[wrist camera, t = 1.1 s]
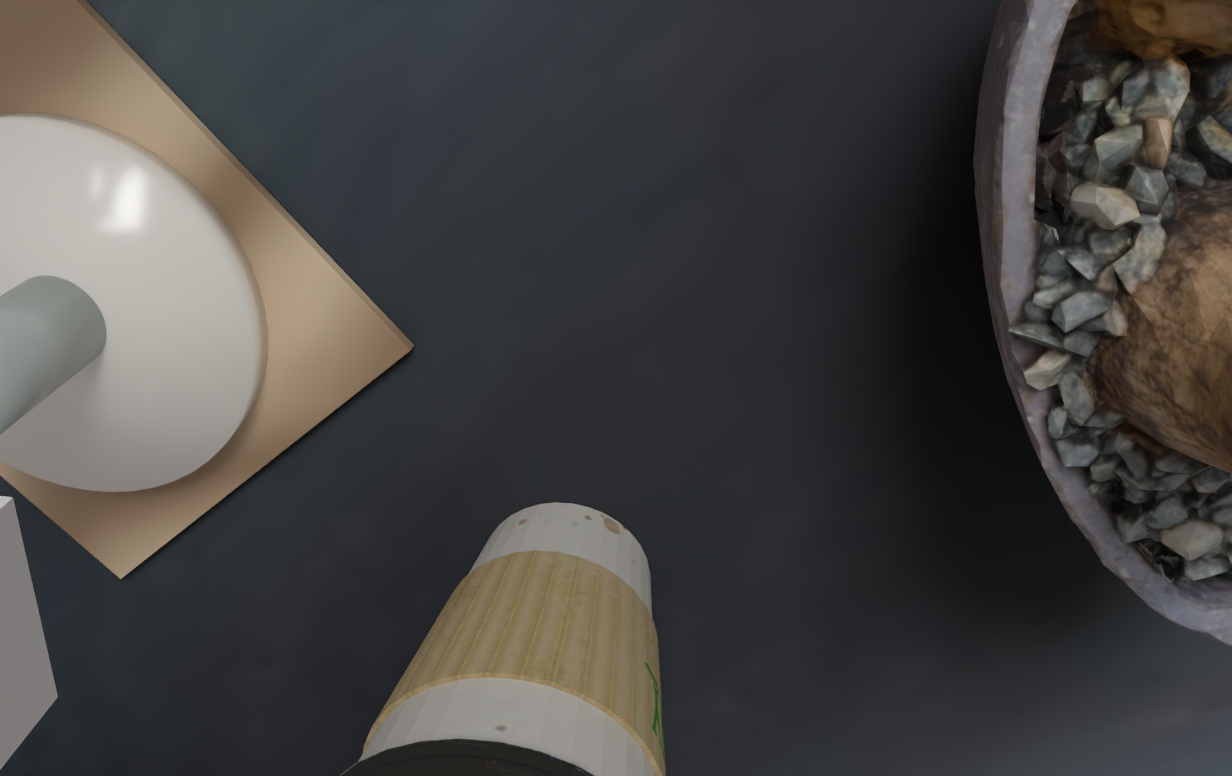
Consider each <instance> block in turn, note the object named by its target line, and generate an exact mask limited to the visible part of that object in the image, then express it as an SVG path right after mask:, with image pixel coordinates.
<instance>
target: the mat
mask: <svg viewBox="0 0 1232 776" xmlns="http://www.w3.org/2000/svg"><path fill="white" fill-rule="evenodd" d="M12 112H41V113H52V114H58V115H63V116H68V117H74V118H78V119H81V120H84V121H87V122H91V123H94V124H97V125H100V126H103V127H105V128H108V129H110V130H112V131H114V132H116V133H119V134H121V135H123V136H125V137H128V138H130V139H131V140H133V141H135V142H136V143H138V144H140V145H142V146H143V147H145V148H147V149H148V150H150V151H152V152H154V153H155V154H156V155H158V156H159V157H160V158H162V159H163V160H164V161H166V162H167V163H169V164H170V165H171V166H173V167H174V168H175V169H177V170H178V171H179V172H180V173H181V174H182V175H183V176H185V177H186V178H187V179H188V180H189V181H190V182H191V183H192V184H193V185H194V186H195V187H196V188H198V189H199V190H200V191H201V193H202V194H203V195H204V196H205V197H206V198H207V199H208V200H209V202H210V203H211V204H212V205H213V206H214V207H215V208H216V210H217V211H218V212H219V213H220V215H221V216H222V217H223V219H224V220H225V222H226V223H227V225H228V226H229V227H230V229H231V230H232V232H233V233H234V234H235V236H236V238H237V240H238V241H239V243H240V245H241V247H242V249H243V251H244V252H245V254H246V256H247V258H248V260H249V262H250V265H251V267H252V269H253V272H254V274H255V277H256V279H257V282H258V284H259V288H260V292H261V295H262V299H263V303H264V306H265V312H266V320H267V327H268V359H267V365H266V372H265V377H264V380H263V384H262V387H261V390H260V393H259V396H258V398H257V400H256V402H255V404H254V406H253V408H252V410H251V412H250V414H249V415H248V417H247V418H246V419H245V421H244V422H243V423H242V425H241V426H240V427H239V429H238V430H237V431H236V432H235V434H234V435H233V436H232V437H231V438H230V439H229V441H228V442H227V443H226V444H225V445H224V446H223V448H222V449H220V450H219V451H218V452H217V453H216V454H215V455H214V456H213V457H212V458H211V459H210V460H209V461H208V462H206V463H205V464H204V465H202V466H201V467H199V468H198V469H196V470H195V471H193V472H192V473H190V474H188V475H186V476H184V477H182V478H180V479H177V480H175V481H173V482H170V483H167V484H164V485H160V486H157V487H154V488H149V489H142V490H136V491H125V492H103V491H91V490H83V489H78V488H73V487H68V486H63V485H59V484H56V483H53V482H49V481H46V480H43V479H40V478H37V477H35V476H32V475H30V474H27V473H25V472H23V471H20V470H18V469H16V468H14V467H12V466H10V465H8V464H6V463H4V462H2V461H0V476H2V477H3V478H4V479H5V480H6V481H7V482H9V483H10V484H11V485H12V486H13V487H14V488H16V489H17V490H18V491H19V492H20V493H21V494H22V495H24V496H25V497H26V498H27V499H28V500H29V501H31V502H32V503H33V504H34V505H35V506H36V507H38V508H39V509H40V510H41V511H42V512H43V513H45V514H46V515H47V516H48V517H49V518H50V519H51V520H53V521H54V522H55V523H56V524H57V525H58V526H60V527H61V528H62V529H63V530H64V531H65V532H67V533H68V534H69V535H70V536H71V537H72V538H74V539H75V540H76V541H77V542H78V543H79V544H80V545H82V546H83V547H84V548H85V549H86V550H87V551H89V552H90V553H91V554H92V555H93V556H94V557H96V558H97V559H98V560H99V561H100V562H101V563H103V564H104V565H105V566H106V567H107V568H108V569H109V570H111V571H112V572H113V573H114V574H115V575H116V576H118V577H119V578H120V579H121V578H123V577H124V576H125V575H127V574H128V573H129V572H130V571H132V570H133V569H134V568H135V567H137V566H138V565H139V564H140V563H142V562H143V561H144V560H146V559H147V558H148V557H149V556H151V555H152V554H153V553H154V552H156V551H157V550H158V549H159V548H161V547H162V546H163V545H165V544H166V543H167V542H168V541H170V540H171V539H172V538H173V537H175V536H176V535H177V534H179V533H180V532H181V531H182V530H184V529H185V528H186V527H187V526H189V525H190V524H191V523H192V522H194V521H195V520H196V519H198V518H199V517H200V516H201V515H203V514H204V513H205V512H206V511H208V510H209V509H210V508H211V507H213V506H214V505H215V504H217V503H218V502H219V501H220V500H222V499H223V498H224V497H225V496H227V495H228V494H229V493H230V492H232V491H233V490H234V489H236V488H237V487H238V486H239V485H241V484H242V483H243V482H244V481H246V480H247V479H248V478H250V477H251V476H252V475H253V474H255V473H256V472H257V471H258V470H260V469H261V468H262V467H263V466H265V465H266V464H267V463H269V462H270V461H271V460H272V459H274V458H275V457H276V456H277V455H279V454H280V453H281V452H282V451H284V450H285V449H286V448H288V447H289V446H290V445H291V444H293V443H294V442H295V441H296V440H298V439H299V438H300V437H301V436H303V435H304V434H305V433H307V432H308V431H309V430H310V429H312V428H313V427H314V426H315V425H317V424H318V423H319V422H320V421H322V420H323V419H324V418H326V417H327V416H328V415H329V414H331V413H332V412H333V411H334V410H336V409H337V408H338V407H340V406H341V405H342V404H343V403H345V402H346V401H347V400H348V399H350V398H351V397H352V396H353V395H355V394H356V393H357V392H359V391H360V390H361V389H362V388H364V387H365V386H366V385H367V384H369V383H370V382H371V381H372V380H374V379H375V378H376V377H378V376H379V375H380V374H381V373H383V372H384V371H385V370H386V369H388V368H389V367H390V366H391V365H393V364H394V363H395V362H397V361H398V360H399V359H400V358H402V357H403V356H404V355H405V354H407V353H408V352H409V351H411V349H412V348H413V346H414V344H413V343H412V342H411V341H410V340H409V339H408V338H407V337H406V336H405V335H404V334H403V333H402V332H401V331H400V330H399V329H398V328H397V326H396V325H395V324H394V323H393V322H392V321H391V320H390V319H389V318H388V317H387V316H386V315H385V314H384V313H383V312H382V311H381V310H380V309H379V308H378V307H377V305H376V304H375V303H374V302H373V301H372V300H371V299H370V298H369V297H368V296H367V295H366V294H365V293H364V292H363V291H362V290H361V289H360V288H359V287H358V286H357V285H356V283H355V282H354V281H353V280H352V279H351V278H350V277H349V276H348V275H347V274H346V273H345V272H344V271H343V270H342V269H341V268H340V267H339V266H338V265H337V264H336V262H335V261H334V260H333V259H332V258H331V257H330V256H329V255H328V254H327V253H326V252H325V251H324V250H323V249H322V248H321V247H320V246H319V245H318V244H317V243H316V241H315V240H314V239H313V238H312V237H311V236H310V235H309V234H308V233H307V232H306V231H305V230H304V229H303V228H302V227H301V226H300V225H299V224H298V223H297V222H296V221H295V219H294V218H293V217H292V216H291V215H290V214H289V213H288V212H287V211H286V210H285V209H284V208H283V207H282V206H281V205H280V204H279V203H278V202H277V201H276V200H275V198H274V197H273V196H272V195H271V194H270V193H269V192H268V191H267V190H266V189H265V188H264V187H263V186H262V185H261V184H260V183H259V182H258V181H257V180H256V179H255V178H254V176H253V175H252V174H251V173H250V172H249V171H248V170H247V169H246V168H245V167H244V166H243V165H242V164H241V163H240V162H239V161H238V160H237V159H236V158H235V157H234V155H233V154H232V153H231V152H230V151H229V150H228V149H227V148H226V147H225V146H224V145H223V144H222V143H221V142H220V141H219V140H218V139H217V138H216V137H215V136H214V135H213V133H212V132H211V131H210V130H209V129H208V128H207V127H206V126H205V125H204V124H203V123H202V122H201V121H200V120H199V119H198V118H197V117H196V116H195V115H194V114H193V112H192V111H191V110H190V109H189V108H188V107H187V106H186V105H185V104H184V103H183V102H182V101H181V100H180V99H179V98H178V97H177V96H176V95H175V94H174V93H173V91H172V90H171V89H170V88H169V87H168V86H167V85H166V84H165V83H164V82H163V81H162V80H161V79H160V78H159V77H158V76H157V75H156V74H155V73H154V72H153V71H152V69H151V68H150V67H149V66H148V65H147V64H146V63H145V62H144V61H143V60H142V59H141V58H140V57H139V56H138V55H137V54H136V53H135V52H134V51H133V50H132V48H131V47H130V46H129V45H128V44H127V43H126V42H125V41H124V40H123V39H122V38H121V37H120V36H119V35H118V34H117V33H116V32H115V31H114V30H113V29H112V28H111V26H110V25H109V24H108V23H107V22H106V21H105V20H104V19H103V18H102V17H101V16H100V15H99V14H98V13H97V12H96V11H95V10H94V9H93V8H92V7H91V5H90V4H89V3H88V2H87V1H86V0H0V114H1V113H12Z"/></svg>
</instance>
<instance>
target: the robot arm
mask: <svg viewBox="0 0 1232 776" xmlns="http://www.w3.org/2000/svg"><path fill="white" fill-rule="evenodd" d="M57 697H58V696H57V691H56V687H55V682H54V678H53V673H52V669H51V665H50V660H49V656H48V651H47V647H46V642H45V638H44V633H43V629H42V625H41V620H40V616H39V611H38V607H37V602H36V598H35V593H34V589H33V585H32V580H31V576H30V571H29V567H28V562H27V558H26V553H25V549H24V545H23V540H22V536H21V531H20V527H19V522H18V518H17V513H16V509H15V505H14V500H13V497H5V496H0V769H1V768H2V767H3V766H4V764H5V763H6V762H7V761H8V759H9V758H10V757H11V755H12V754H13V753H14V752H15V750H16V749H17V748H18V747H19V745H20V744H21V743H22V742H23V740H24V739H25V738H26V736H27V735H28V734H29V733H30V731H31V730H32V729H33V728H34V726H35V725H36V724H37V723H38V721H39V720H40V719H41V717H42V716H43V715H44V714H45V712H46V711H47V710H48V709H49V707H50V706H51V705H52V704H53V702H54V701H55V700H56V699H57Z"/></svg>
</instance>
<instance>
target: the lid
mask: <svg viewBox="0 0 1232 776" xmlns="http://www.w3.org/2000/svg"><path fill="white" fill-rule="evenodd" d="M267 359H268V327H267V320H266V312H265V306H264V303H263V299H262V295H261V292H260V288H259V284H258V282H257V279H256V277H255V274H254V272H253V269H252V267H251V265H250V262H249V260H248V258H247V256H246V254H245V252H244V251H243V249H242V247H241V245H240V243H239V241H238V240H237V238H236V236H235V234H234V233H233V232H232V230H231V229H230V227H229V226H228V225H227V223H226V222H225V220H224V219H223V217H222V216H221V215H220V213H219V212H218V211H217V210H216V208H215V207H214V206H213V205H212V204H211V203H210V202H209V200H208V199H207V198H206V197H205V196H204V195H203V194H202V193H201V191H200V190H199V189H198V188H196V187H195V186H194V185H193V184H192V183H191V182H190V181H189V180H188V179H187V178H186V177H185V176H183V175H182V174H181V173H180V172H179V171H178V170H177V169H175V168H174V167H173V166H171V165H170V164H169V163H167V162H166V161H164V160H163V159H162V158H160V157H159V156H158V155H156V154H155V153H154V152H152V151H150V150H148V149H147V148H145V147H143V146H142V145H140V144H138V143H136V142H135V141H133V140H131V139H130V138H128V137H125V136H123V135H121V134H119V133H116V132H114V131H112V130H110V129H108V128H105V127H103V126H100V125H97V124H94V123H91V122H87V121H84V120H81V119H78V118H74V117H68V116H63V115H58V114H52V113H41V112H12V113H1V114H0V461H2V462H4V463H6V464H8V465H10V466H12V467H14V468H16V469H18V470H20V471H23V472H25V473H27V474H30V475H32V476H35V477H37V478H40V479H43V480H46V481H49V482H53V483H56V484H59V485H63V486H68V487H73V488H78V489H83V490H91V491H103V492H125V491H136V490H142V489H149V488H154V487H157V486H160V485H164V484H167V483H170V482H173V481H175V480H177V479H180V478H182V477H184V476H186V475H188V474H190V473H192V472H193V471H195V470H196V469H198V468H199V467H201V466H202V465H204V464H205V463H206V462H208V461H209V460H210V459H211V458H212V457H213V456H214V455H215V454H216V453H217V452H218V451H219V450H220V449H222V448H223V446H224V445H225V444H226V443H227V442H228V441H229V439H230V438H231V437H232V436H233V435H234V434H235V432H236V431H237V430H238V429H239V427H240V426H241V425H242V423H243V422H244V421H245V419H246V418H247V417H248V415H249V414H250V412H251V410H252V408H253V406H254V404H255V402H256V400H257V398H258V396H259V393H260V390H261V387H262V384H263V380H264V377H265V372H266V365H267Z"/></svg>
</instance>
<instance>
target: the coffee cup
mask: <svg viewBox="0 0 1232 776" xmlns="http://www.w3.org/2000/svg"><path fill="white" fill-rule="evenodd" d="M340 776H666V772H665V755H664V738H663V721H662V703H661V686H660V669H659V652H658V638H657V634H656V629H655V625H654V621H653V619H652V604H651V582H650V570H649V566H648V561H647V558H646V556H645V554H644V552H643V550H642V547H641V546H640V544H639V543H638V542H637V540H636V539H635V538H634V536H633V535H632V534H631V533H630V532H629V531H628V530H627V529H626V528H625V527H624V526H623V525H621V524H620V523H619V522H618V521H616V520H614V519H613V518H611V517H610V516H608V515H606V514H604V513H602V512H599V511H597V510H595V509H592V508H590V507H586V506H581V505H577V504H572V503H546V504H538V505H535V506H532V507H528V508H525V509H523V510H521V511H519V512H517V513H515V514H513V515H511V516H509V517H508V518H507V519H506V520H505V521H503V522H502V523H501V524H500V525H499V526H498V527H497V528H496V530H495V531H494V532H493V534H492V535H491V536H490V538H489V540H488V541H487V543H486V545H485V546H484V548H483V550H482V552H481V553H480V555H479V557H478V558H477V560H476V562H475V563H474V565H473V567H472V569H471V570H470V572H469V574H468V575H467V576H466V577H465V578H464V579H463V580H462V581H461V582H460V584H459V585H458V586H457V588H456V589H455V590H454V591H453V593H452V595H451V596H450V598H449V600H448V601H447V603H446V605H445V606H444V608H443V610H442V611H441V613H440V615H439V616H438V618H437V620H436V621H435V623H434V625H433V626H432V628H431V630H430V631H429V633H428V635H427V636H426V638H425V640H424V641H423V643H422V645H421V646H420V648H419V650H418V651H417V653H416V655H415V656H414V658H413V660H412V661H411V663H410V664H409V666H408V668H407V669H406V671H405V673H404V674H403V676H402V678H401V679H400V681H399V683H398V684H397V686H396V688H395V689H394V691H393V693H392V694H391V696H390V698H389V699H388V701H387V703H386V704H385V706H384V708H383V709H382V711H381V713H380V714H379V716H378V718H377V719H376V721H375V723H374V724H373V726H372V728H371V730H370V733H369V735H368V737H367V740H366V742H365V745H364V747H363V754H362V756H361V758H360V759H359V761H358V762H357V763H356V764H354V765H353V766H352V767H350V768H349V769H348V770H346V771H345V772H344V773H342V774H341V775H340Z"/></svg>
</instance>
